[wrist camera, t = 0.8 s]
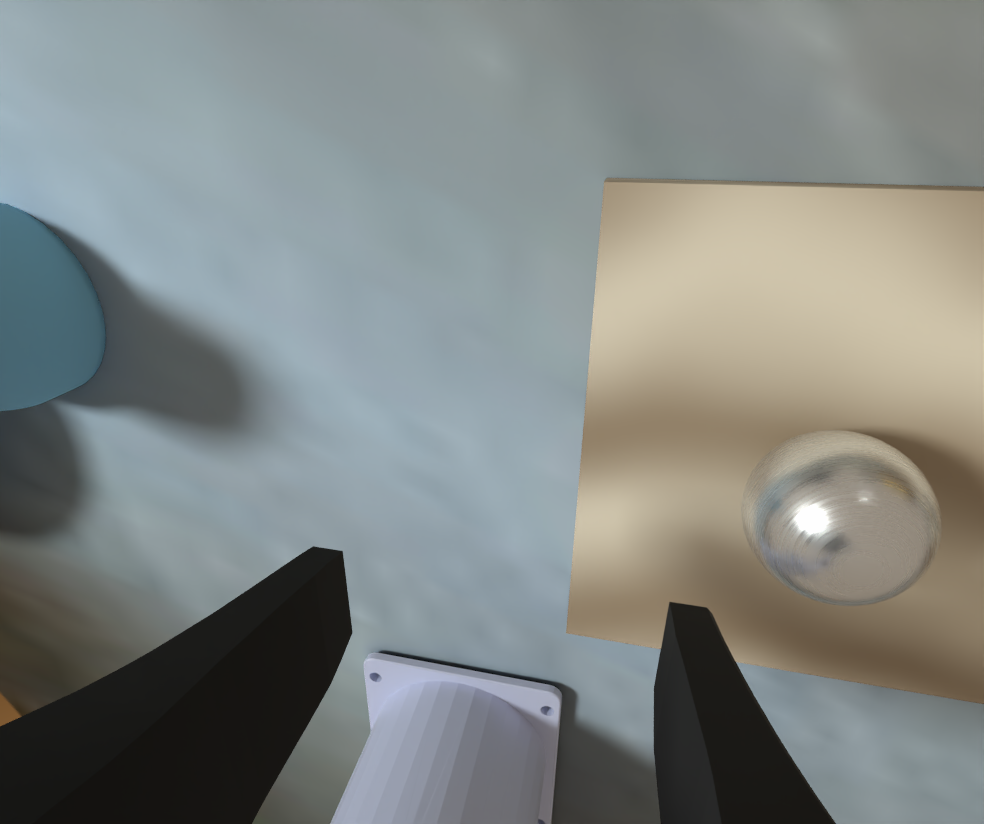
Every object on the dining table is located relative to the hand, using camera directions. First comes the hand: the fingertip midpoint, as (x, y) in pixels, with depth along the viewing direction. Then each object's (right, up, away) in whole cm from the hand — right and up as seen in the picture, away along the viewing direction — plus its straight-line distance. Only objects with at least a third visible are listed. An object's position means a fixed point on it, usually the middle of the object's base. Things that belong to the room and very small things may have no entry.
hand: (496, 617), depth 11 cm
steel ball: (+8, +1, +3) cm, 9 cm away
